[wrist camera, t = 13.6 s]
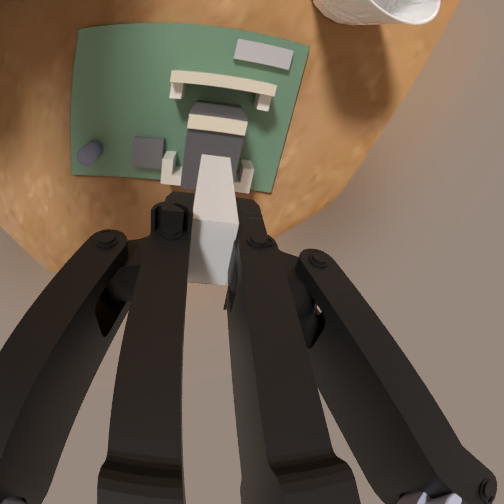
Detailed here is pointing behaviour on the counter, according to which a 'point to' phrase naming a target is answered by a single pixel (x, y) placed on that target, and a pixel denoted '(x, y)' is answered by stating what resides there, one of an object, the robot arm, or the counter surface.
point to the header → (181, 77)
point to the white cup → (379, 11)
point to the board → (169, 109)
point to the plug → (212, 137)
